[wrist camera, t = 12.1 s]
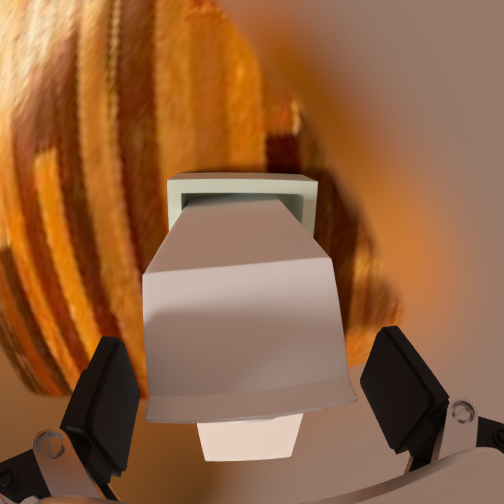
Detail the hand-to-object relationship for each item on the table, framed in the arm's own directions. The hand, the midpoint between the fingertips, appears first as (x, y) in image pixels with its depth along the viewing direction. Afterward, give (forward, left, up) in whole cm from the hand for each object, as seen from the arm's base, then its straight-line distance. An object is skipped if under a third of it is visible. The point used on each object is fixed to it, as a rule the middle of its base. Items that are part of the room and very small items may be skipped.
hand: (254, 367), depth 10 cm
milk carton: (0, 0, -17) cm, 17 cm away
